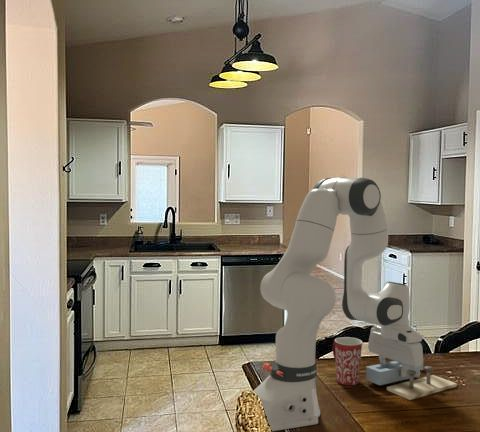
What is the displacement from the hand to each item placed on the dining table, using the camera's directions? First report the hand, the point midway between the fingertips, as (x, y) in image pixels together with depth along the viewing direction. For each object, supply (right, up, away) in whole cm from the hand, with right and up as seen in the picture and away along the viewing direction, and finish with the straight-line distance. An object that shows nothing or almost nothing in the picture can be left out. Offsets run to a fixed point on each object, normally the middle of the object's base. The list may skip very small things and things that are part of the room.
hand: (393, 372), depth 167 cm
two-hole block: (0, -2, 0) cm, 2 cm away
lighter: (+12, -3, +14) cm, 18 cm away
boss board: (+7, -3, -6) cm, 10 cm away
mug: (-16, -3, +1) cm, 16 cm away
